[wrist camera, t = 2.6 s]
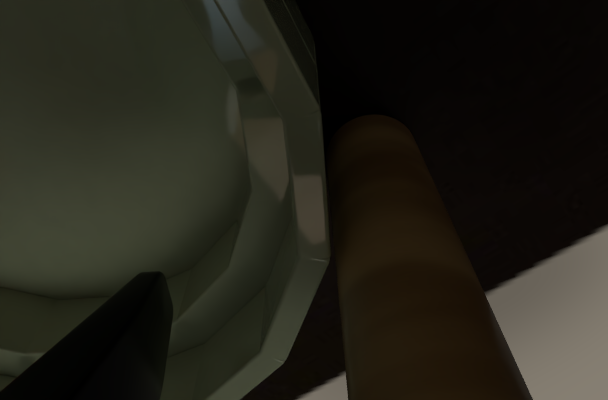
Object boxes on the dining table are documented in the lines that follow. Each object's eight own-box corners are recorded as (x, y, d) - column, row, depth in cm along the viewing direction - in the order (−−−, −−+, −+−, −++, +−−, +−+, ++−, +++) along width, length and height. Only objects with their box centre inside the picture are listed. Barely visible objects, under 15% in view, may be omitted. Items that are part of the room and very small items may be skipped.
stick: (428, 172, 14) (803, 999, 3) (348, 206, 14) (467, 1004, 4) (396, 97, 13) (809, 995, 2) (310, 137, 13) (343, 1001, 3)
